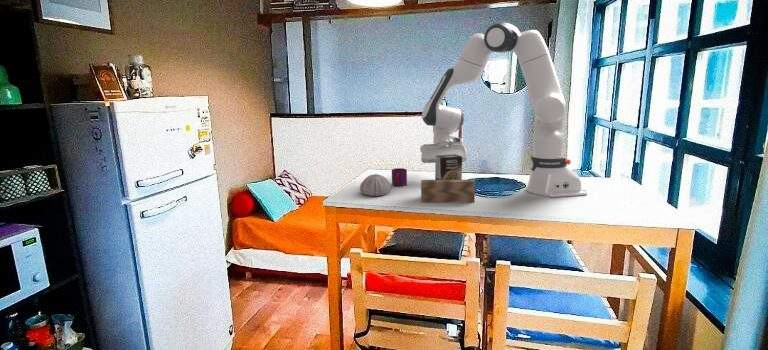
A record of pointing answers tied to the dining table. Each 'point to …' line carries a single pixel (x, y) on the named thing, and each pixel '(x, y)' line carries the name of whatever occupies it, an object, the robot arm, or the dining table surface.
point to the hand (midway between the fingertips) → (444, 169)
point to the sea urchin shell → (375, 185)
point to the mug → (399, 177)
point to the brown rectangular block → (447, 190)
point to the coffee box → (448, 167)
